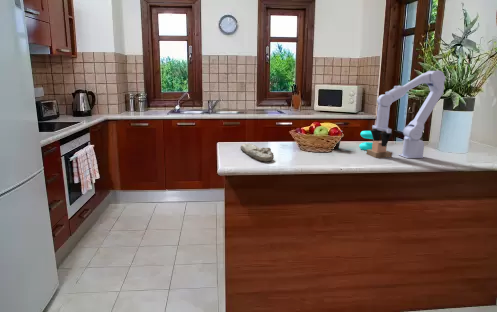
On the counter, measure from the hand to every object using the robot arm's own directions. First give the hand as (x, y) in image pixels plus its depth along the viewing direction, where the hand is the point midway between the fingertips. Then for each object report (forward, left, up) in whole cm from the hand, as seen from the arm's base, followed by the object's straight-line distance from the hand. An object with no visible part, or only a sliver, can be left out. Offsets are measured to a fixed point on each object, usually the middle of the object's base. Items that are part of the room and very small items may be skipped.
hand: (379, 144), depth 182 cm
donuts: (-3, -16, -6) cm, 17 cm away
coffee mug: (+15, -20, -6) cm, 26 cm away
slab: (0, 0, -6) cm, 6 cm away
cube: (0, 0, -3) cm, 3 cm away
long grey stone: (+63, -9, -6) cm, 64 cm away
